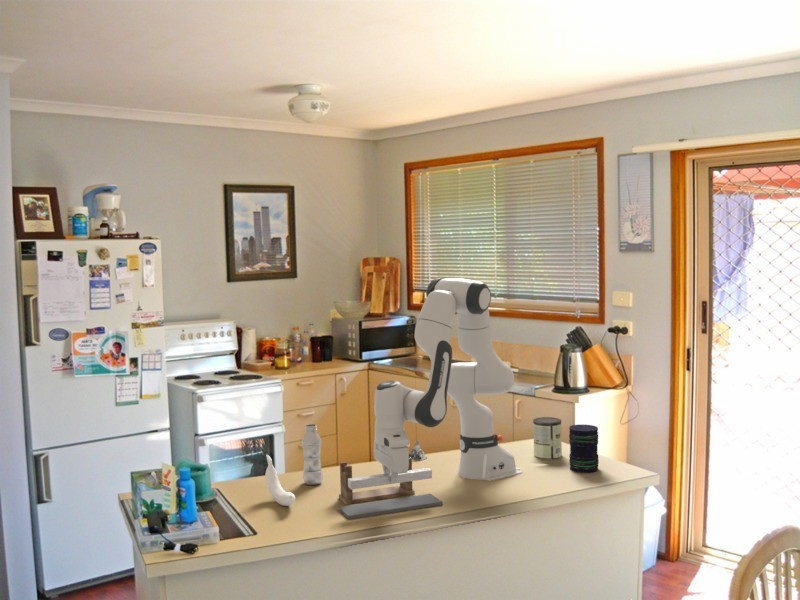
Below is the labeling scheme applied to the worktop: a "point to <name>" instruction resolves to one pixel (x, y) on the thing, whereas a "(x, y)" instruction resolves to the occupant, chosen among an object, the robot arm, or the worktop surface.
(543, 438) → the coffee can
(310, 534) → the worktop surface
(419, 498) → the mat
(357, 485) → the rail
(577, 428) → the storage jar
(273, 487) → the banana
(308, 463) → the plastic bottle
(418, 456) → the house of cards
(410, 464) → the stand
